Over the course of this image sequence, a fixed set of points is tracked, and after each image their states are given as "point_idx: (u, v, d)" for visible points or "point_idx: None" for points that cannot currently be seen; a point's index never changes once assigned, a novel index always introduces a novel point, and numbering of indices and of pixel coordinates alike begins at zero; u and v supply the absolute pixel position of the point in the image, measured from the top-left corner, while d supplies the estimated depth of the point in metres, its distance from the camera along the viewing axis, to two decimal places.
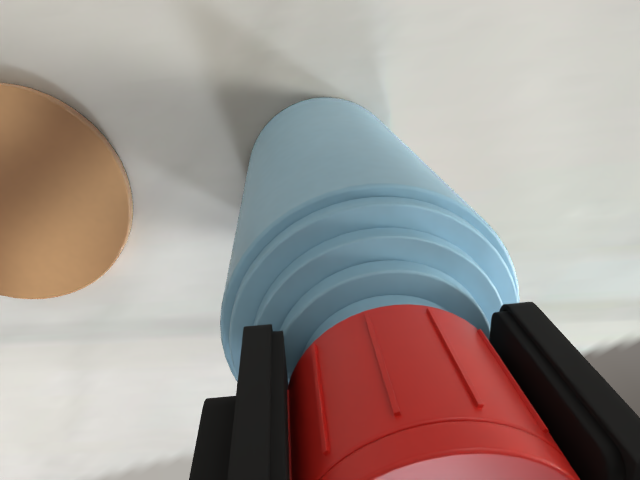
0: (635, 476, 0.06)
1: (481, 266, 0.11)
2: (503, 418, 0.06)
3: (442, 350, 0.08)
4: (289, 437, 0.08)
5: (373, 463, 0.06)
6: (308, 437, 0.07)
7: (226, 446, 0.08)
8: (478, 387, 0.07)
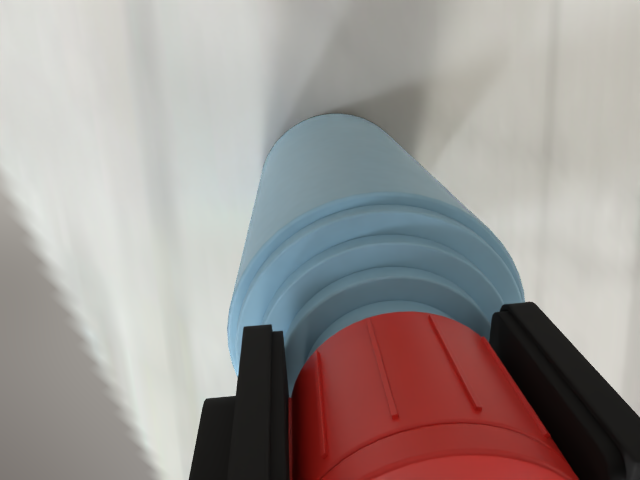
0: (635, 476, 0.06)
1: None
2: (502, 421, 0.06)
3: (442, 355, 0.08)
4: (290, 444, 0.08)
5: (369, 465, 0.06)
6: (308, 442, 0.07)
7: (226, 446, 0.08)
8: (477, 391, 0.07)
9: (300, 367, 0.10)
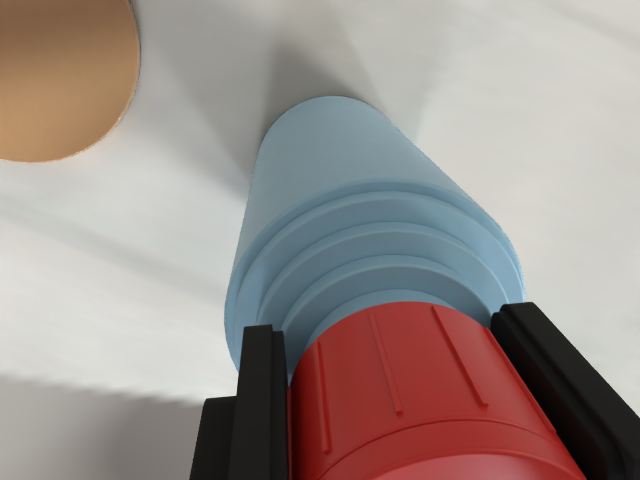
0: (635, 476, 0.06)
1: None
2: None
3: None
4: None
5: None
6: None
7: (227, 446, 0.08)
8: (293, 473, 0.07)
9: None
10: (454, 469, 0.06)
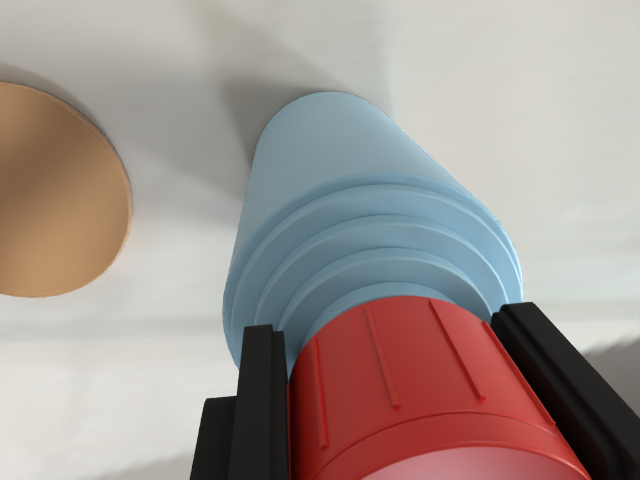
0: (634, 476, 0.06)
1: (483, 253, 0.11)
2: None
3: None
4: None
5: None
6: None
7: (227, 446, 0.08)
8: None
9: None
10: None
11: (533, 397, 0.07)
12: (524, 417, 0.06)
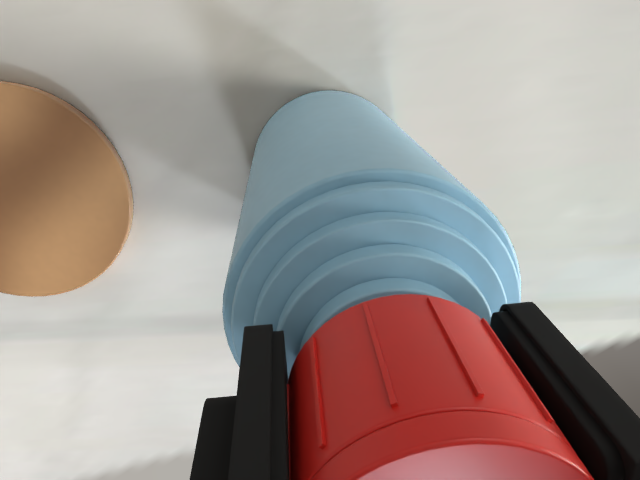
0: (635, 476, 0.06)
1: (480, 249, 0.11)
2: None
3: None
4: (453, 339, 0.07)
5: None
6: (506, 378, 0.07)
7: (227, 446, 0.08)
8: None
9: None
10: None
11: (318, 420, 0.07)
12: None
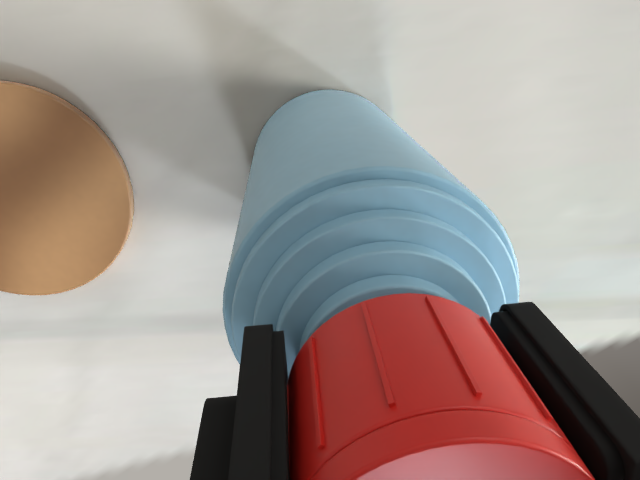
0: (634, 476, 0.06)
1: (479, 246, 0.11)
2: (503, 406, 0.06)
3: (440, 338, 0.07)
4: (288, 432, 0.08)
5: (367, 456, 0.06)
6: (304, 432, 0.07)
7: (227, 446, 0.08)
8: (477, 375, 0.07)
9: None
10: None
11: None
12: None
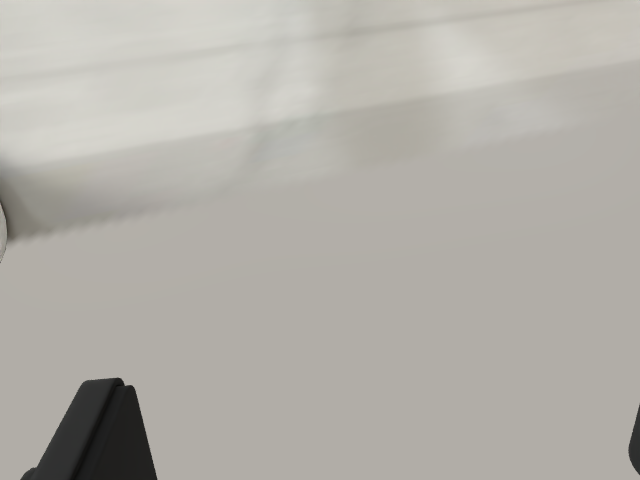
0: None
1: None
2: None
3: None
4: None
5: None
6: None
7: None
8: None
9: None
10: None
11: None
12: None
